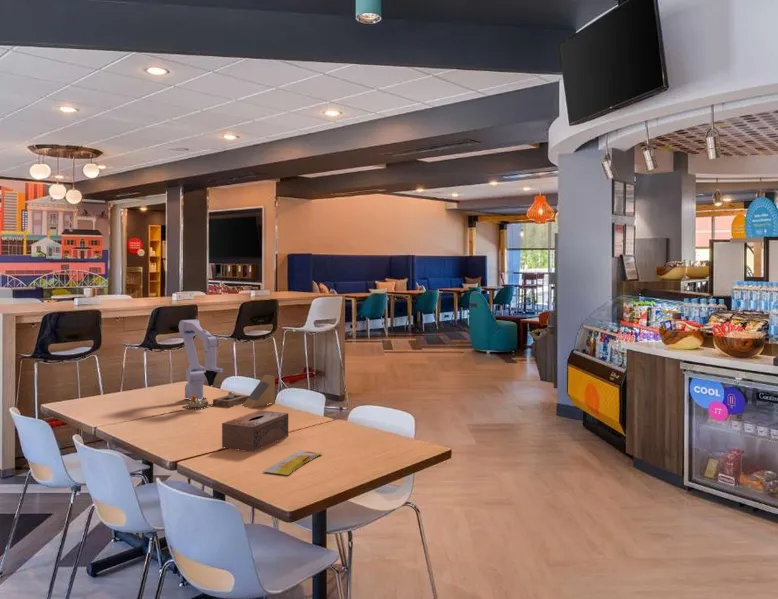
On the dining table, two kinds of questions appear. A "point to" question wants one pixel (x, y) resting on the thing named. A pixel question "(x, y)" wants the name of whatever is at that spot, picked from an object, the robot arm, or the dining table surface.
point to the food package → (292, 462)
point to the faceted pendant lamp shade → (197, 404)
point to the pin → (230, 395)
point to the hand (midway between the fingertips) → (210, 385)
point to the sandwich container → (262, 393)
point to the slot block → (235, 401)
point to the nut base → (197, 401)
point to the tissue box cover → (254, 430)
